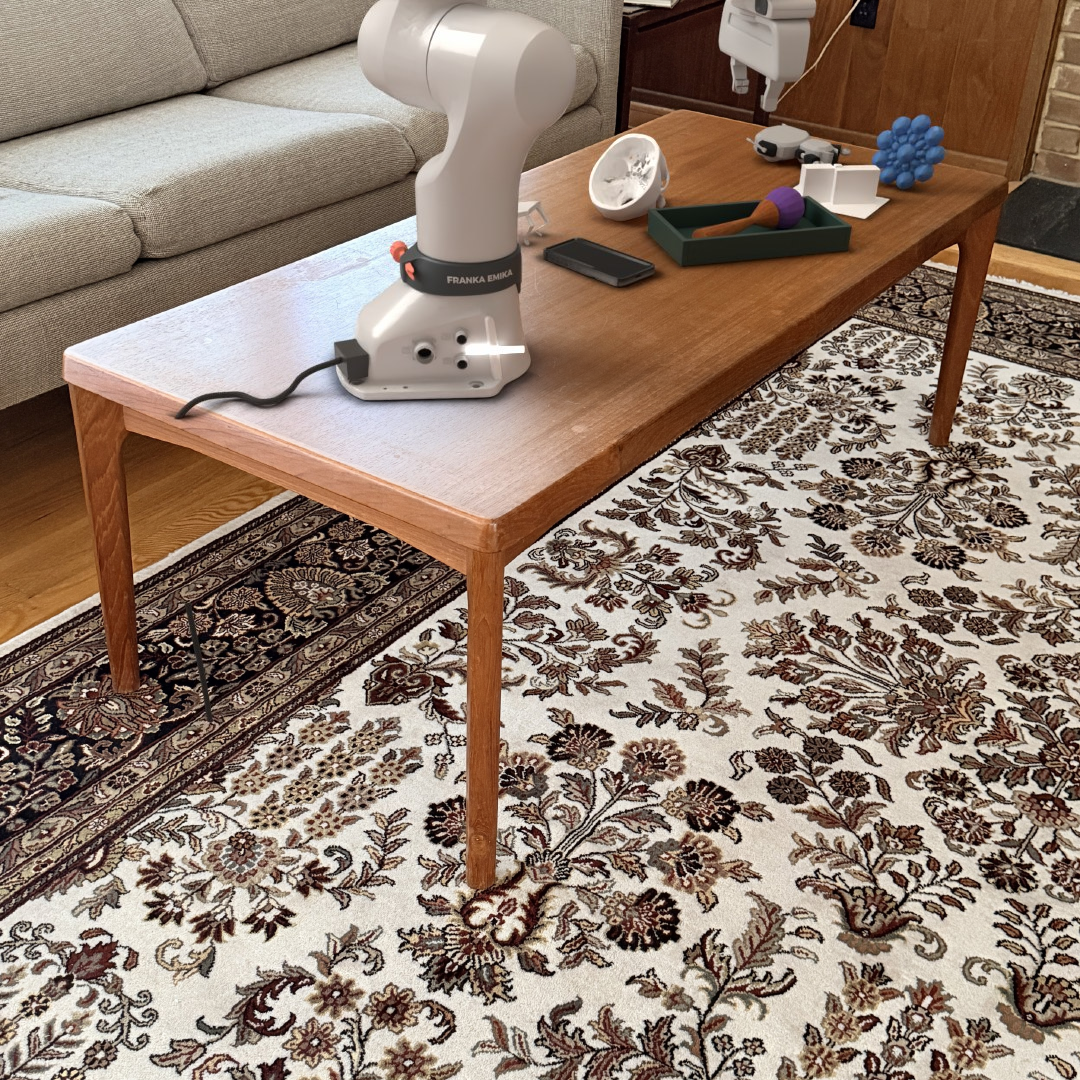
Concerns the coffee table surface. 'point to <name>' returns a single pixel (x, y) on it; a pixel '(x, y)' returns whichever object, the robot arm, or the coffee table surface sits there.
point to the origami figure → (526, 209)
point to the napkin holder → (842, 188)
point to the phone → (599, 261)
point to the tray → (744, 233)
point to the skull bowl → (629, 178)
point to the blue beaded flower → (909, 151)
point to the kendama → (764, 214)
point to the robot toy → (795, 146)
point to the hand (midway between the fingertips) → (753, 101)
